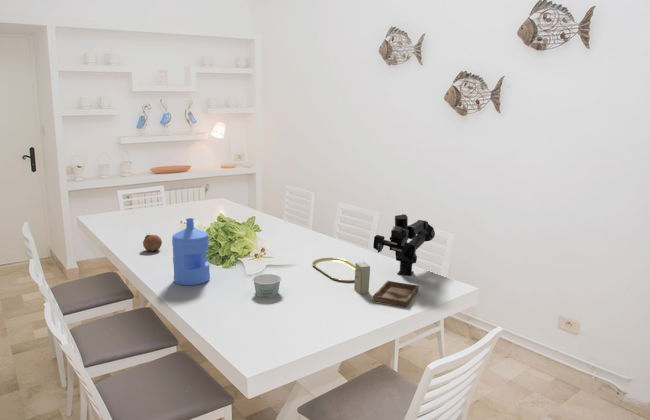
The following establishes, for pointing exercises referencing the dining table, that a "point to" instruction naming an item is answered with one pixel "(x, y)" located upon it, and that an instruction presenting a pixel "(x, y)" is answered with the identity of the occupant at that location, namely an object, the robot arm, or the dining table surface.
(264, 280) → the food container
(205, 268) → the water jug
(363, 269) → the skincare box
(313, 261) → the gold hoop ring
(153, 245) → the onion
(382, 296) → the walnut tray
